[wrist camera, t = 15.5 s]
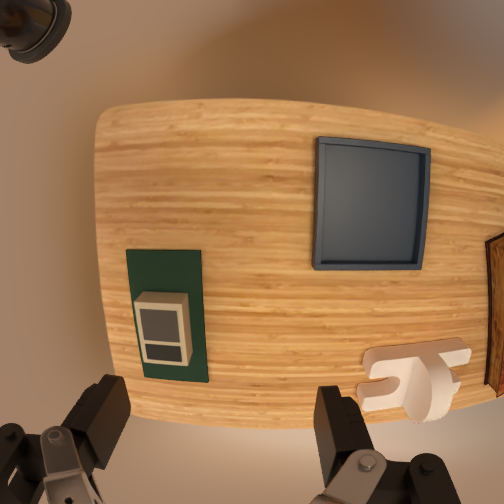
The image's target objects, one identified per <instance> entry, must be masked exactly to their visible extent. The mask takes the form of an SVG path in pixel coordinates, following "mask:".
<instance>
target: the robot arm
mask: <svg viewBox="0 0 504 504" xmlns="http://www.w3.org/2000/svg"><path fill="white" fill-rule="evenodd" d="M54 2H55V0H0V46H2V47H3V46H4V48H5V47H6V48H9V49H12V50H14V51H16V52H18V53H21V54H24V53H28V52H31V51H33V50H34V49H36V48H37V47H39V46H40V45H41V44H42V43H43V42H44V41H45V40H46V39H47V37H48V36H49V35H50V33H51V32H52V30H53V28H54V26H55V24H56V22H57V18H58V13H59V12H58V6H57V5H56V3H54ZM130 412H131V404H130V400H129V396H128V393H127V389H126V385H125V381H124V378H123V377H121V376H115V375H109V374H105V375H104V376H103V377H102V379H101V380H100V382H99V383H98V384H95V383H94V384H93V385H91V386H90V387H88V388H87V389H86V390H85V391H84V392H83V394H82V395H81V397H80V399H78V401H77V403H76V405H74V407H73V408H72V410H71V411H70V413H69V414H68V415H67V417H66V419H65V420H64V421H63V423H62V424H61V426H53V427H50V428H48V429H46V430H45V431H44V432H43V433H42V435H35V434H25V432H24V430H23V428H22V427H21V426H20V425H18V424H15V423H8V424H5V425H3V426H1V427H0V504H38V502H39V500H40V498H41V496H42V494H43V492H44V489H45V491H46V495H47V500H48V503H49V504H105V502H104V500H103V498H102V495H101V493H100V490H99V488H98V485H97V483H96V480H95V478H94V475H93V473H92V472H93V470H94V468H99V469H102V470H104V469H105V468H106V465H107V463H108V461H109V459H110V456H111V455H112V452H113V450H114V448H115V446H116V444H117V442H118V439H119V437H120V435H121V433H122V431H123V429H124V427H125V425H126V422H127V420H128V418H129V416H130ZM314 430H315V435H316V441H317V446H318V452H319V457H320V463H321V468H322V474H323V479H324V485H325V488H326V489H325V490H324V492H323V493H322V494H321V495H320V494H319V495H317V496H316V497H315V498H314V499H313V500H312V501H311V503H310V504H461V502H460V499H459V497H458V494H457V492H456V489H455V487H454V485H453V482H452V480H451V477H450V475H449V473H448V470H447V468H446V466H445V463H444V462H443V460H442V459H441V458H440V457H438V456H437V455H434V454H430V453H423V454H419V455H417V456H415V457H414V458H413V459H412V460H411V462H395V461H390V460H387V459H385V457H384V456H383V455H382V454H381V453H379V452H378V451H375V449H374V447H373V444H372V441H371V439H370V436H369V433H368V430H367V427H366V425H365V422H364V419H363V417H362V415H361V411H360V408H359V406H358V404H357V403H356V402H355V401H354V400H353V399H352V398H351V397H341V394H340V391H339V388H338V386H337V385H335V386H319V387H318V391H317V397H316V404H315V410H314ZM15 467H16V469H17V472H16V473H15V475H14V477H13V478H12V480H11V482H10V484H9V486H8V480H9V478H10V476H11V474H12V473H13V471H14V469H15Z"/></svg>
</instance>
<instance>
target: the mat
mask: <svg viewBox="0 0 504 504" xmlns="http://www.w3.org/2000/svg"><path fill="white" fill-rule="evenodd" d="M126 257H127V267H128V276H129V285H130V293H131V300H132V307H133V314H134V321H135V327H136V333H137V339H138V345H139V351H140V356H141V361H142V366H143V371H144V376H145V377H148V378H156V379H166V380H177V381H189V382H204V383H208V382H209V378H208V366H207V353H206V339H205V324H204V307H203V288H202V266H201V250H126ZM143 291H146V292H170V293H188V302H189V315H190V327H191V339H192V349H193V353H192V355H191V358H190V361H189V364H188V366H180V365H167V364H156V363H146V362H144V360H143V355H142V350H141V344H140V338H139V332H138V326H137V319H136V312H135V305H134V301H135V300H136V299H137V298H138V297H139V296H140V295H141V293H142V292H143Z"/></svg>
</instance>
